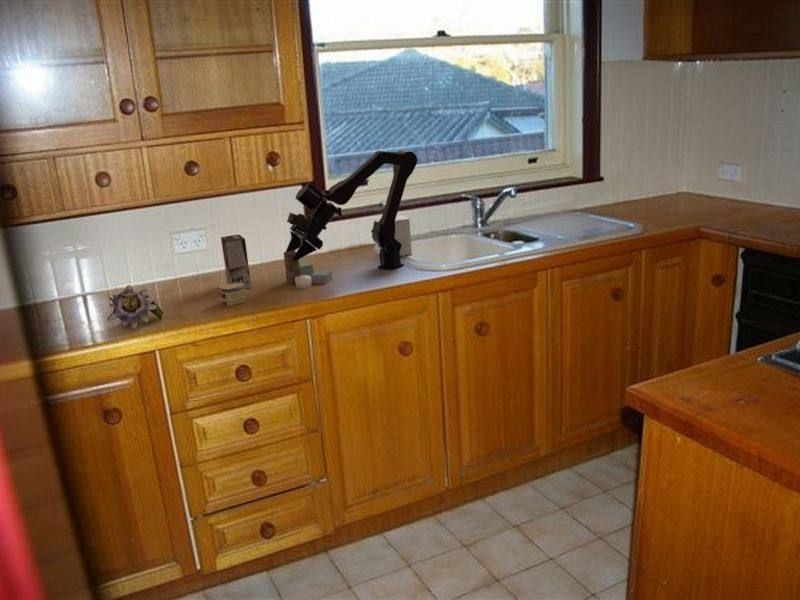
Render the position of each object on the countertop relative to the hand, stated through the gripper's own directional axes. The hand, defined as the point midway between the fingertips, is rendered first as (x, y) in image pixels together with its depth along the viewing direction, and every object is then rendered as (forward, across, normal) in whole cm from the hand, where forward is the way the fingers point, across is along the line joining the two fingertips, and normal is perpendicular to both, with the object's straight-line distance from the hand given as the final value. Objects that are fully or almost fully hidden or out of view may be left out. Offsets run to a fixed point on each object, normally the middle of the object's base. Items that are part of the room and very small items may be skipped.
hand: (289, 257), depth 236 cm
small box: (-25, -15, +37) cm, 47 cm away
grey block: (0, +4, +12) cm, 13 cm away
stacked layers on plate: (+21, +10, -8) cm, 25 cm away
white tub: (+5, +6, +8) cm, 11 cm away
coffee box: (+18, -7, -5) cm, 19 cm away
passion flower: (+41, +14, -28) cm, 52 cm away
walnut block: (+6, 0, +6) cm, 9 cm away
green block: (+2, -7, +10) cm, 13 cm away
